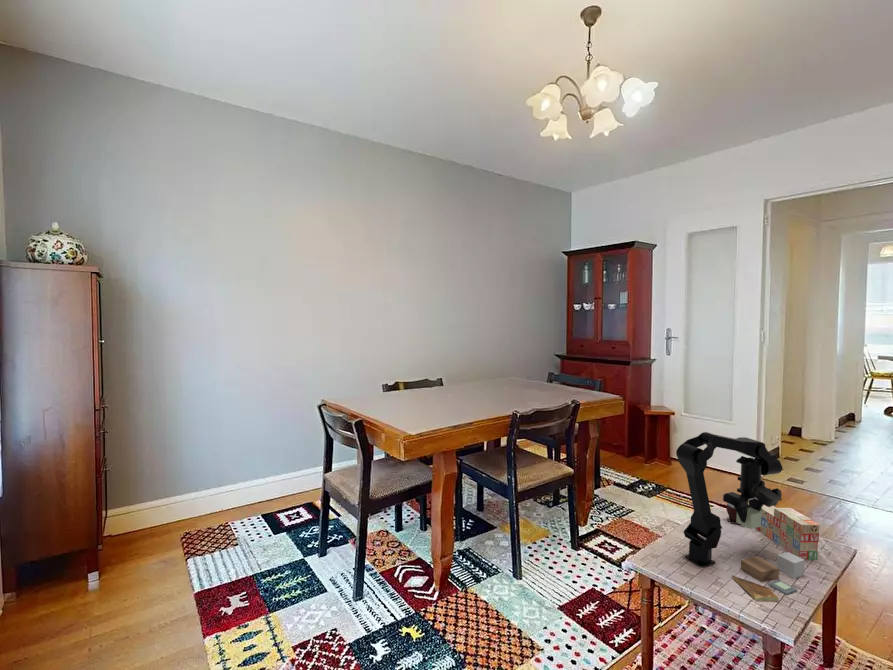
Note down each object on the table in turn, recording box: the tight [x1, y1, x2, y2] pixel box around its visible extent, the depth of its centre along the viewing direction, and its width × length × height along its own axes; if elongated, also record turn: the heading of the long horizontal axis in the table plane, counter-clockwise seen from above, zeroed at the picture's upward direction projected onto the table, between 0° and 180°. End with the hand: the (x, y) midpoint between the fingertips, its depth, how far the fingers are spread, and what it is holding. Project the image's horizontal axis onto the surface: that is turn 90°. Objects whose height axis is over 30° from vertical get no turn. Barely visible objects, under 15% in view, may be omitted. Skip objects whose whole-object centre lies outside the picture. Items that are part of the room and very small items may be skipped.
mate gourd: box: [726, 502, 741, 526], centre depth 173 cm, size 8×8×15 cm
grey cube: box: [776, 551, 806, 579], centre depth 140 cm, size 5×5×5 cm
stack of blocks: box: [756, 505, 820, 560], centre depth 158 cm, size 21×6×12 cm, turn 0°
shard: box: [731, 574, 779, 602], centre depth 131 cm, size 11×8×2 cm
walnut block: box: [740, 555, 780, 583], centre depth 139 cm, size 7×7×4 cm
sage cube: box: [735, 508, 762, 530], centre depth 151 cm, size 5×5×5 cm
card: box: [768, 579, 798, 596], centre depth 132 cm, size 5×5×1 cm
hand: (748, 520), depth 151 cm, fingers closed on sage cube, 5 cm apart
